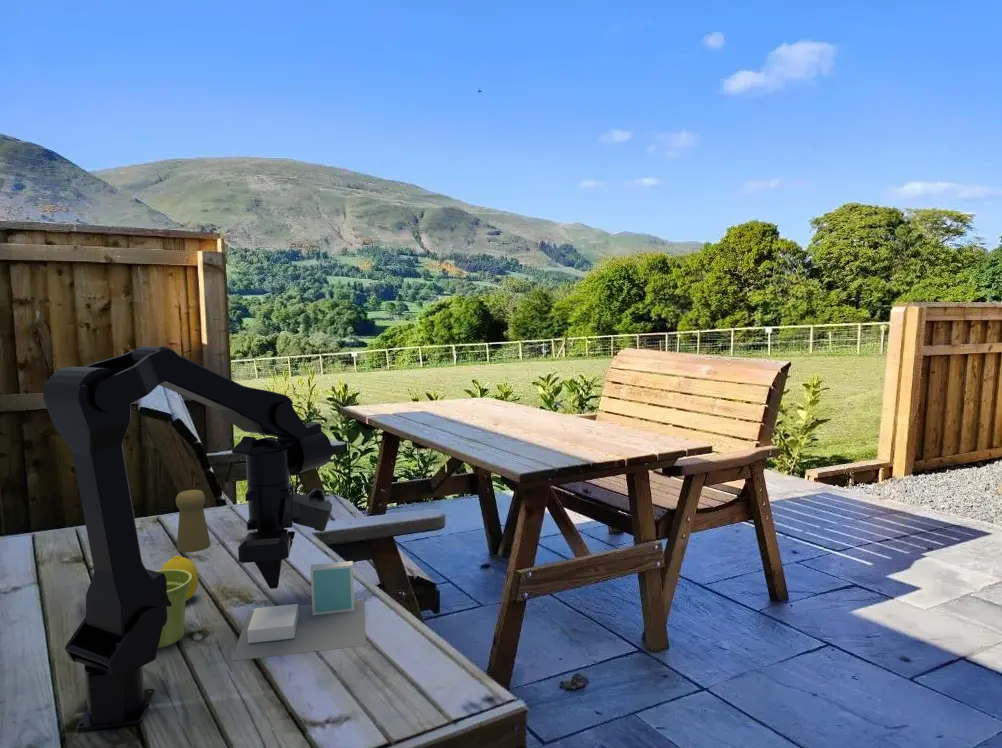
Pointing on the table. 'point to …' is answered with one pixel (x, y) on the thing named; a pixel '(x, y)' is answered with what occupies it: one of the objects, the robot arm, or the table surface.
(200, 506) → the cork
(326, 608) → the tile
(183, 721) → the table surface
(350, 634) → the slate mat
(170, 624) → the plant pot
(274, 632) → the tile
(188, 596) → the lemon
